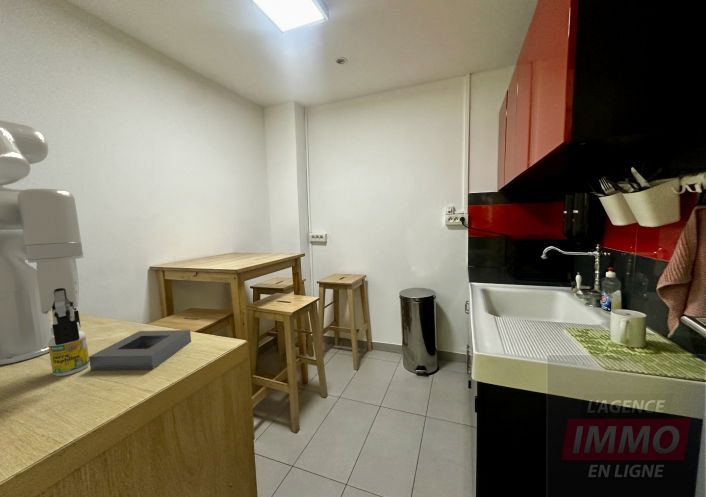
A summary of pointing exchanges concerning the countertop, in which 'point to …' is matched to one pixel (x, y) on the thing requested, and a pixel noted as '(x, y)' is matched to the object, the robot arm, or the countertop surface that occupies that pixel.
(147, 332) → the square hole block
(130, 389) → the countertop surface
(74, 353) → the supplement bottle
